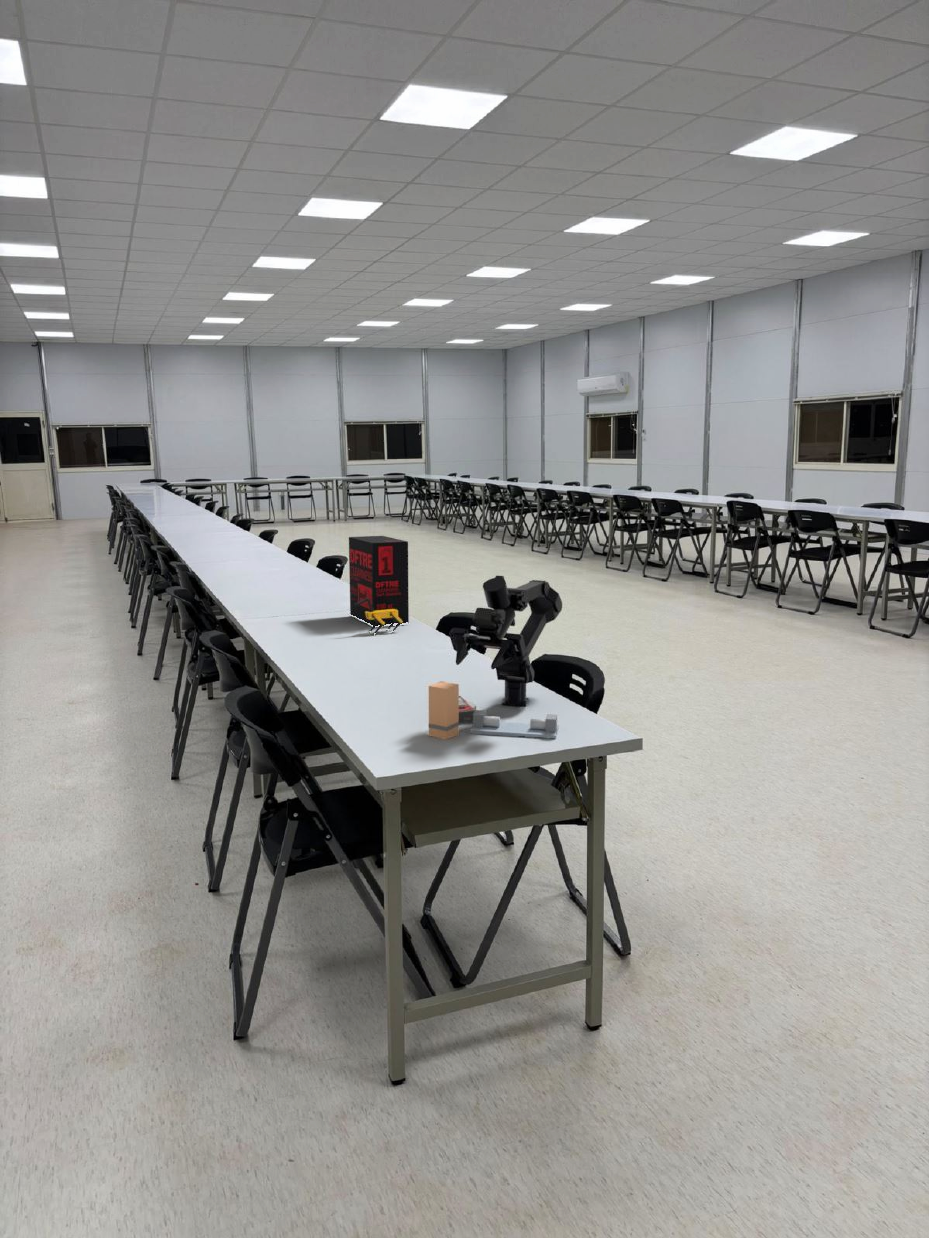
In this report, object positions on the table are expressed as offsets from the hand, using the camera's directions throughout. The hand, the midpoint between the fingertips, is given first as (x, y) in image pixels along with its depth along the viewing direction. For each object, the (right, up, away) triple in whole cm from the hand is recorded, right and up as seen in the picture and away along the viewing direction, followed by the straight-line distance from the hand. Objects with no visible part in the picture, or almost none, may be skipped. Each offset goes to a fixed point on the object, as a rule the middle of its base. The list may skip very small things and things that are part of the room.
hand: (474, 665), depth 208 cm
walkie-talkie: (-4, -13, +17) cm, 22 cm away
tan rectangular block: (-7, -16, -2) cm, 18 cm away
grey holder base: (+10, -16, +1) cm, 18 cm away
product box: (-36, +10, +139) cm, 144 cm away
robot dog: (-34, +6, +114) cm, 119 cm away
